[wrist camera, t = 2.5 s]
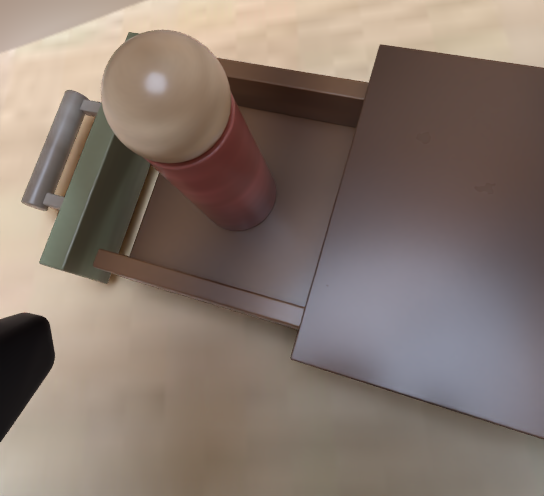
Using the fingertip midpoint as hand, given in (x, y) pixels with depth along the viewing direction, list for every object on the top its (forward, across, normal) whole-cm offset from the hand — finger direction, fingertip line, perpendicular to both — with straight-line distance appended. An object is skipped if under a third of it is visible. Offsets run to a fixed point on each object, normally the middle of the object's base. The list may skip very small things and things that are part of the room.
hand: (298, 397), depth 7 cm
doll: (+14, +6, +2) cm, 15 cm away
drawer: (+15, +8, +2) cm, 17 cm away
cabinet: (+14, -6, +4) cm, 16 cm away
